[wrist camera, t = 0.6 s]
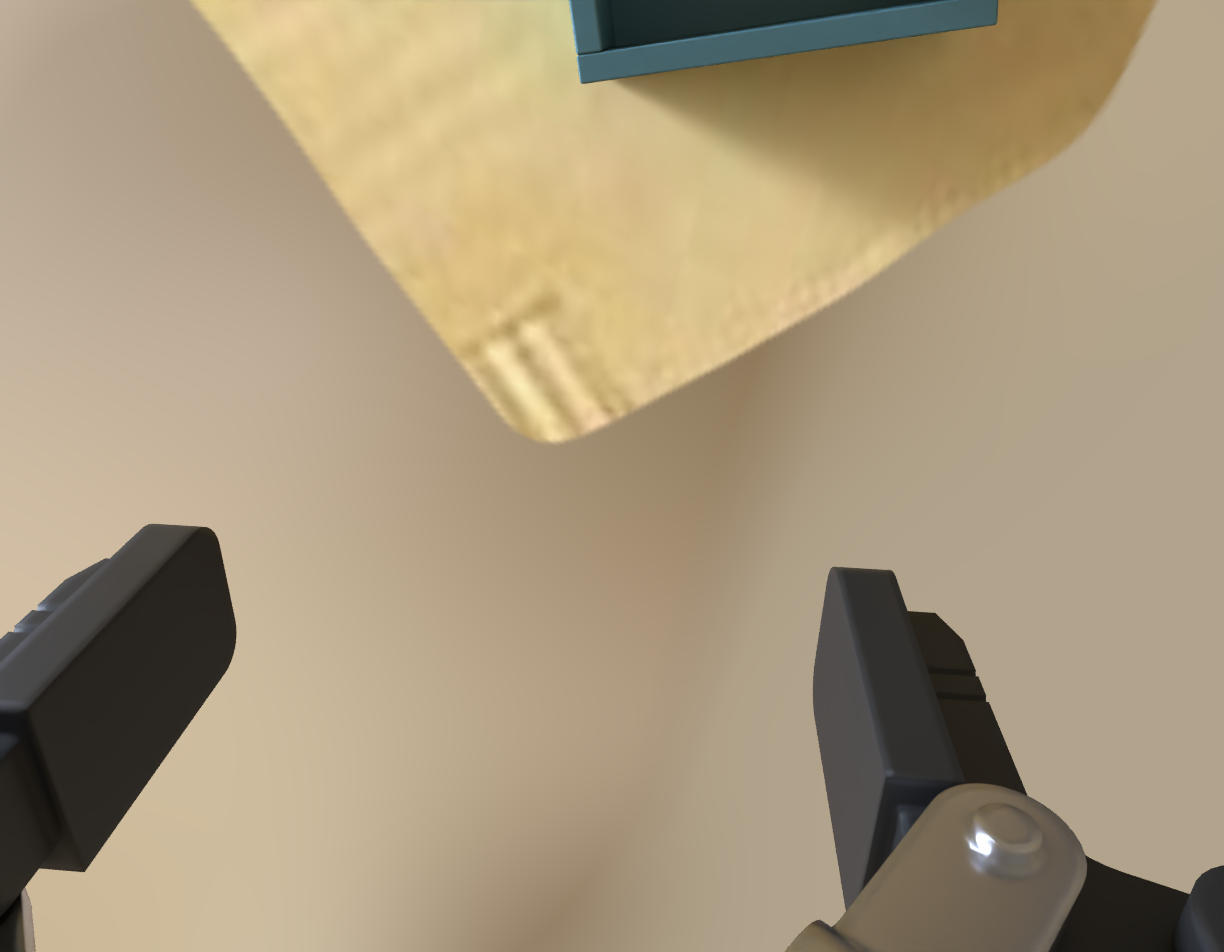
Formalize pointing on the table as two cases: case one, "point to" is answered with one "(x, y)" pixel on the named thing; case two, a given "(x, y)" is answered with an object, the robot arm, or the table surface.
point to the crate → (747, 29)
